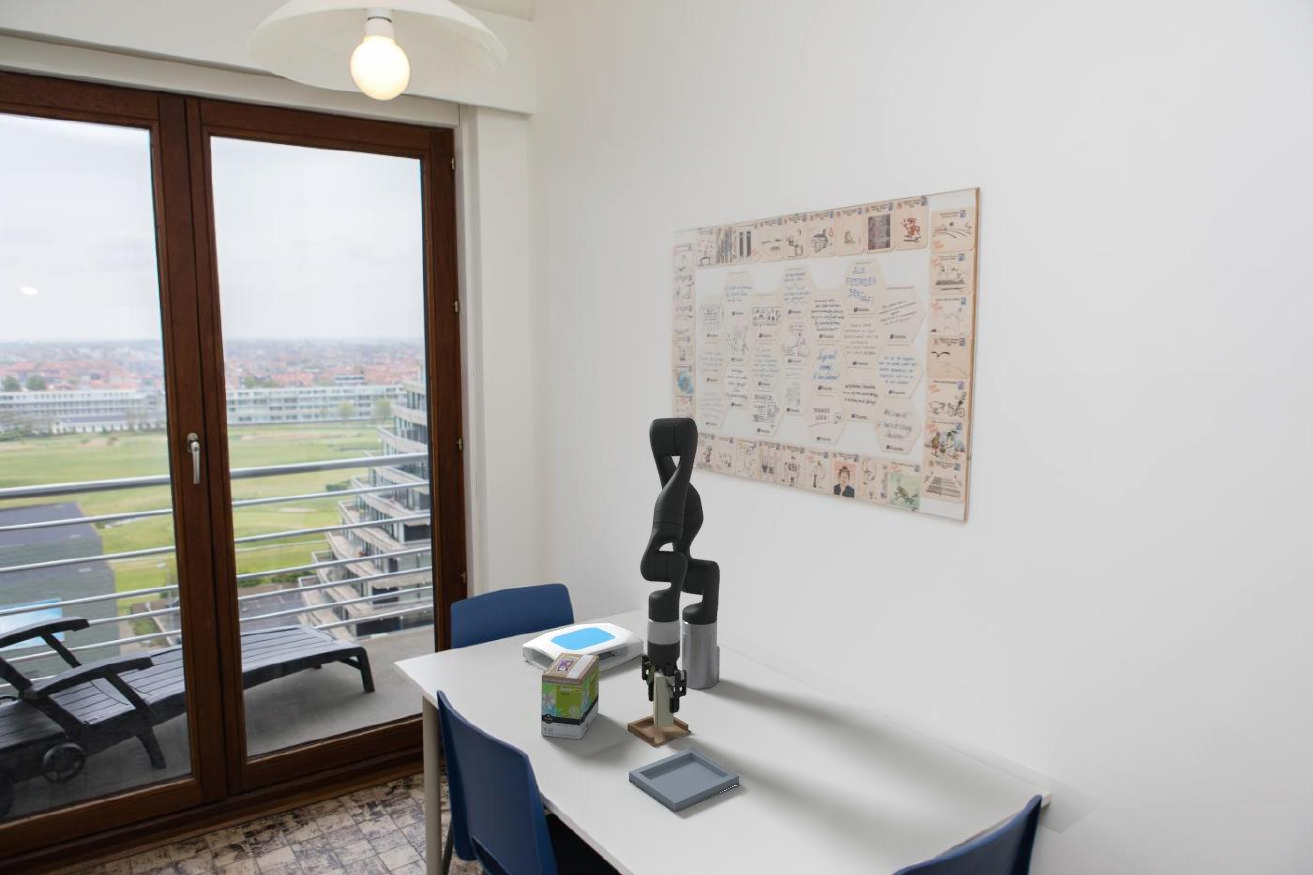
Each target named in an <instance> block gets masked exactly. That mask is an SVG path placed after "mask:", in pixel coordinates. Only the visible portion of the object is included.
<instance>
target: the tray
mask: <svg viewBox="0 0 1313 875" xmlns="http://www.w3.org/2000/svg"><path fill="white" fill-rule="evenodd" d="M628 782H630V783H631V784H632V785H634V786H635V787H637V788H638V789H640V790H641V791H642V792H643V793H645V794H647V795H648V796H649V797H651V798H652V799H654V800H656V801H657V802H658V803H660V804H661V805H662V806H664V807H665V808H667V809H668V810H669V811H671V812H672V813H674V814H676V813H678V812H681V811H684V810H686V809H687V808H690V807H693V806H695V805H696V804H699V803H701V802H703V801H705V800H709V799H710V798H712V796H713V797H715V796H717V795H719V793H720V792H722V791H724V790H726V789H728V788H730V787H732V786H734V785H738V784H739V785H740V775H739V774H738V773H736V772H734V771H732V770H730V769H729V768H727V767H725V765H722V764H721V763H719V762H717V761H715V760H713V759H712V758H710V757H709V756H707V755H705V754H703V753H701V752H700V751H698V750H697V749H695V748H693V747H691V748H687V749H685V750H682V751H680V752H677V753H675V754H672V755H670V756H666V757H664V758H662V759H659V760H656V761H653V762H651V763H648V764H646V765H643V766H641V767H638V768H635V769H633V770H630V771H628ZM739 785H738V786H739ZM724 792H725V791H724ZM722 793H723V792H722ZM716 794H717V795H716ZM720 794H721V793H720ZM714 795H715V796H714Z"/></svg>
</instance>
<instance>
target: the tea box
mask: <svg viewBox="0 0 1313 875" xmlns="http://www.w3.org/2000/svg"><path fill="white" fill-rule="evenodd" d="M599 661H600V656H599V655H595V656H593V655H582V654H571V653H561V654H560V655H559V656H558V657H557V658H556V660H555V661H554V662H553V663H552V664H551V665H550V666H549V667H548V669H547V670H546V671H545V672H544V671H543V673H542V675H541V702H540V703H541V704H540V706H541V707H540V708H541V713H540V714H541V717H540V719H541V721H540V722H541V723H540V736H546V737H554V738H563V739H571V740H581V739H582V737H583V736H584V734H585V733H586V731H587V730H588V728H589V726H590V725H591V724H592V723H593V721H594V719H595V718H596V716H597V714H599V703H600V702H599V697H600V696H599V694H600V693H599V692H600V689H599V687H600V686H599V685H600V684H599V682H600V671H599Z"/></svg>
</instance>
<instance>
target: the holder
mask: <svg viewBox="0 0 1313 875" xmlns="http://www.w3.org/2000/svg"><path fill="white" fill-rule="evenodd" d="M626 724H627V727H626V730H627V732H629V733H630V734H632V735H634V736H636V737H637V738H638V739H640V740H641V741H643V742H645V743H646V744H647V745H649V746H651V747H653V748H655V747H657V746H660V745H663V744H665V743H668V742H671V741H673V740H677V739H679V738H681V737H682V738H683V737H684V736H687V735H689V734H692V730H690V729H689V724H688V723H686V722H684V721H683V720H681V719H680V718H677V717H676V716H673V727H655V724H654V718H653V714H652V715H649V716H645V717H643V718H639V719H638V720H634V721H631V722H628V723H626Z"/></svg>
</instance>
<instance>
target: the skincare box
mask: <svg viewBox="0 0 1313 875" xmlns="http://www.w3.org/2000/svg"><path fill="white" fill-rule="evenodd" d="M665 678H666V679H668V682H669V683H673V684H674V675H672V676H671V677H668V676H665V677H664V676H661V675H660V674H659V672H658V671H655V673H654V700H653V702H652V703H653V707H652V708H653V709H652V715H653V718H654V724H655V727H673V716H674V715H675V713H673V714H672V713H671V712H670V711H669V709H670V695H669V692H668V689H666V688H665ZM672 689H673V692H675V687H674V686H672ZM674 717H675V716H674Z"/></svg>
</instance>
